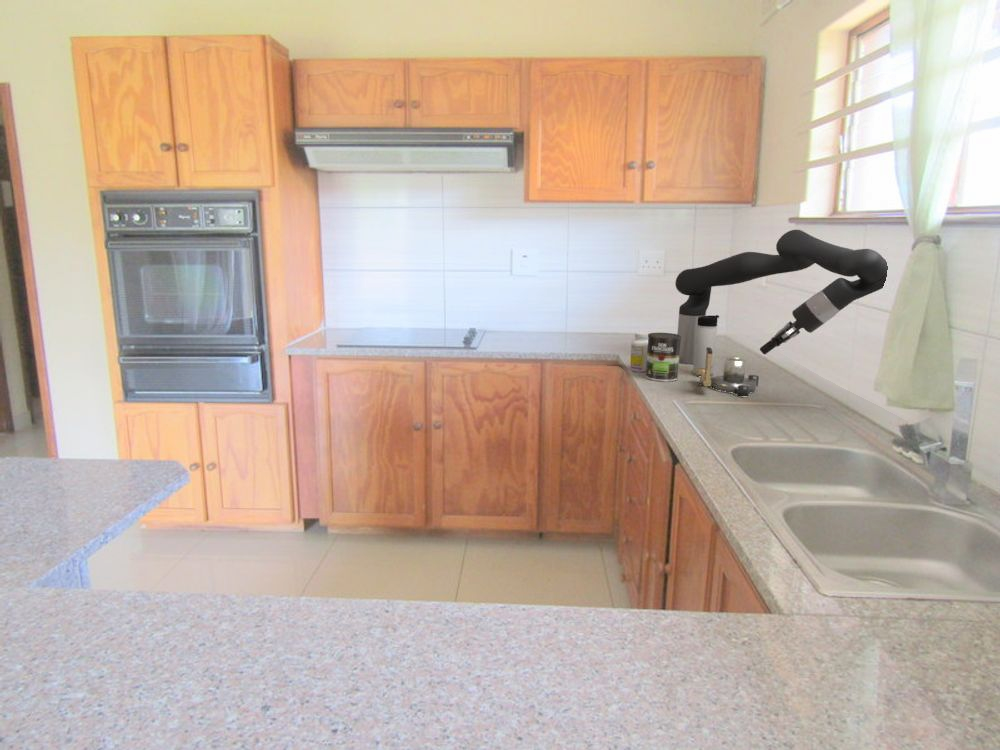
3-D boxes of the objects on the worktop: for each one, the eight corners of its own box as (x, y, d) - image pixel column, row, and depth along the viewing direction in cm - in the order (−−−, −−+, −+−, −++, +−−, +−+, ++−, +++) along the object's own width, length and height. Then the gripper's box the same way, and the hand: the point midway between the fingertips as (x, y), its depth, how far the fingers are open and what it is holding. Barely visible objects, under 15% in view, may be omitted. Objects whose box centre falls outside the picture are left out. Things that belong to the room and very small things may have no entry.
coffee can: (676, 383, 207) (679, 338, 204) (643, 380, 211) (646, 336, 208) (679, 376, 217) (682, 333, 214) (647, 373, 220) (650, 331, 217)
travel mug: (714, 378, 215) (720, 316, 210) (693, 376, 216) (698, 316, 212) (712, 373, 221) (718, 314, 216) (692, 372, 222) (697, 313, 217)
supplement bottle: (645, 368, 228) (647, 331, 225) (653, 372, 222) (655, 334, 219) (627, 368, 227) (629, 331, 224) (634, 372, 220) (636, 334, 217)
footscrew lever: (695, 373, 208) (698, 340, 206) (710, 374, 207) (713, 341, 205) (699, 385, 192) (702, 350, 190) (715, 386, 191) (718, 351, 189)
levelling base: (706, 378, 214) (709, 348, 212) (760, 385, 206) (763, 354, 204) (691, 390, 199) (694, 358, 197) (748, 398, 191) (752, 365, 188)
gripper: (823, 325, 169) (767, 366, 177) (827, 319, 180) (774, 357, 189) (803, 303, 170) (748, 345, 179) (808, 298, 181) (757, 337, 190)
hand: (762, 351), depth 184 cm, fingers closed
